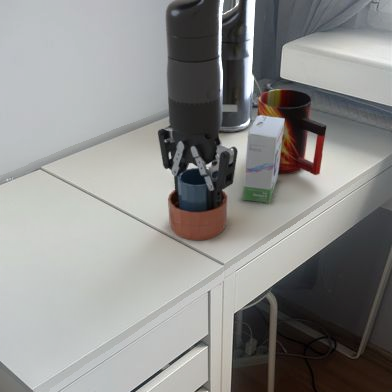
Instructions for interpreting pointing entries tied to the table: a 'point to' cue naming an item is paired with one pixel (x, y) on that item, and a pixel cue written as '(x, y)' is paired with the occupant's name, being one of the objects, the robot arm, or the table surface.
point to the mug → (294, 128)
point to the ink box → (263, 158)
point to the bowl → (197, 220)
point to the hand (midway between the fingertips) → (197, 202)
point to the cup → (192, 191)
